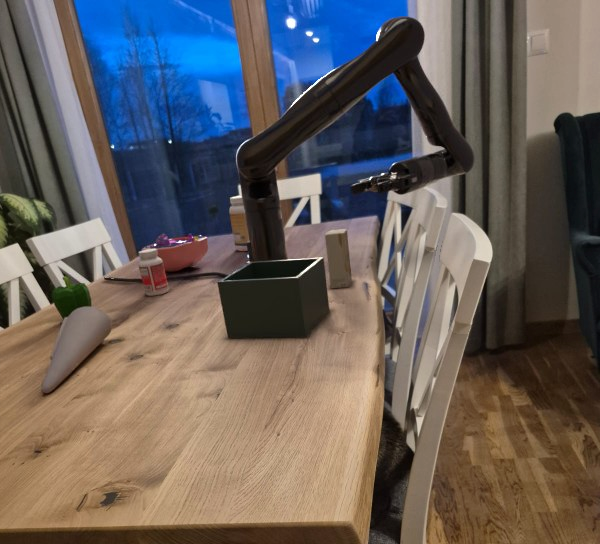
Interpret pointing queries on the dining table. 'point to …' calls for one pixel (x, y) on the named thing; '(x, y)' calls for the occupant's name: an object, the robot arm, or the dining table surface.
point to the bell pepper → (71, 297)
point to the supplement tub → (238, 223)
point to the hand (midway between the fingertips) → (365, 189)
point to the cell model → (180, 251)
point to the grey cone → (75, 343)
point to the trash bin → (274, 298)
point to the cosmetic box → (338, 258)
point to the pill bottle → (152, 273)
